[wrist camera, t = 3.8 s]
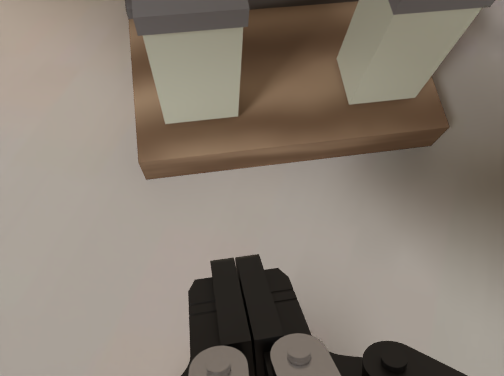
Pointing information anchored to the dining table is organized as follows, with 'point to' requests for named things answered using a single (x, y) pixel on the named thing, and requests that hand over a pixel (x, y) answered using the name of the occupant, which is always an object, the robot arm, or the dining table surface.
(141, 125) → the button board
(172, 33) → the marked plunger
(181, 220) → the dining table surface
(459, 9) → the plunger
